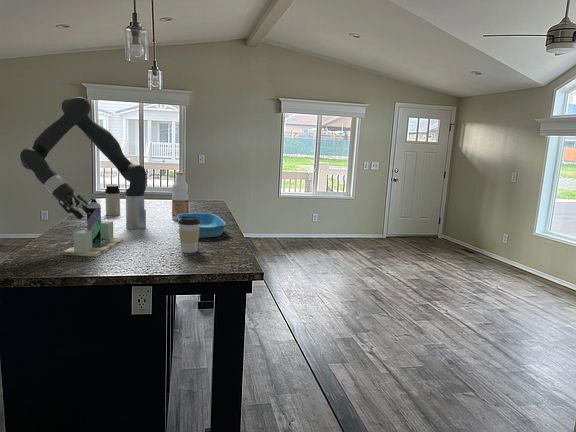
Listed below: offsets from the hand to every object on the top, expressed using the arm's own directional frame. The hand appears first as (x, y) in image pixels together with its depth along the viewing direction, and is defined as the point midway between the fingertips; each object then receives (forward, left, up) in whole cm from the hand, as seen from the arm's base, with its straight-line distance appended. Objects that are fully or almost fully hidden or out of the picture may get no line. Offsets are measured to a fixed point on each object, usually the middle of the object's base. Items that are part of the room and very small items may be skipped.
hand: (86, 216), depth 182 cm
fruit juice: (-61, -41, -14) cm, 74 cm away
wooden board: (-3, +2, -13) cm, 14 cm away
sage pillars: (-3, +2, -12) cm, 13 cm away
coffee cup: (-36, +25, -14) cm, 45 cm away
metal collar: (-3, +2, -12) cm, 13 cm away
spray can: (-2, +2, -12) cm, 13 cm away
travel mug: (-31, -70, -14) cm, 78 cm away
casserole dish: (-57, -8, -14) cm, 59 cm away
